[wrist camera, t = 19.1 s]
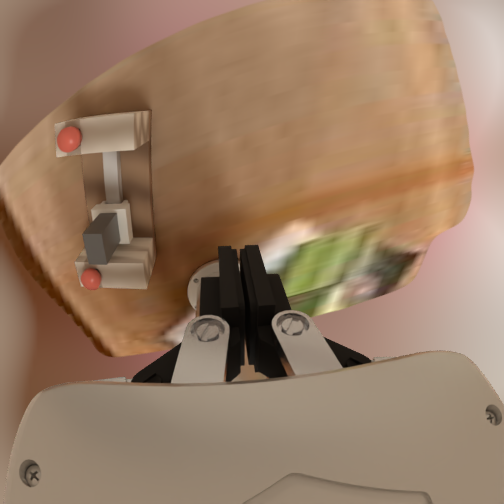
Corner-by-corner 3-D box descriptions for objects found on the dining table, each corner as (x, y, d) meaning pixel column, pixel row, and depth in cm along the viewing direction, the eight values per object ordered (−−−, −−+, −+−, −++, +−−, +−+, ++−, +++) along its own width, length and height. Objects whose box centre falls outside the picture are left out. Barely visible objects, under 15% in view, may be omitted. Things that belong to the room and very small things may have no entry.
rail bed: (156, 256, 43) (146, 289, 36) (99, 255, 42) (81, 286, 34) (151, 110, 32) (134, 113, 25) (84, 116, 31) (54, 123, 23)
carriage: (135, 232, 38) (117, 268, 30) (104, 233, 38) (81, 267, 30) (132, 200, 36) (110, 229, 28) (99, 201, 35) (72, 230, 27)
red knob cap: (109, 273, 37) (101, 290, 33) (92, 272, 36) (83, 289, 33) (106, 256, 35) (96, 272, 32) (88, 256, 35) (78, 272, 32)
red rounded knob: (92, 144, 28) (78, 151, 24) (73, 147, 27) (57, 153, 24) (92, 121, 26) (77, 125, 23) (72, 124, 26) (56, 129, 23)
